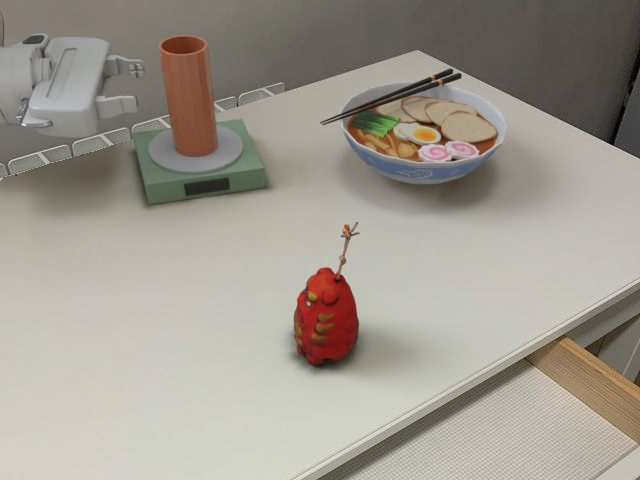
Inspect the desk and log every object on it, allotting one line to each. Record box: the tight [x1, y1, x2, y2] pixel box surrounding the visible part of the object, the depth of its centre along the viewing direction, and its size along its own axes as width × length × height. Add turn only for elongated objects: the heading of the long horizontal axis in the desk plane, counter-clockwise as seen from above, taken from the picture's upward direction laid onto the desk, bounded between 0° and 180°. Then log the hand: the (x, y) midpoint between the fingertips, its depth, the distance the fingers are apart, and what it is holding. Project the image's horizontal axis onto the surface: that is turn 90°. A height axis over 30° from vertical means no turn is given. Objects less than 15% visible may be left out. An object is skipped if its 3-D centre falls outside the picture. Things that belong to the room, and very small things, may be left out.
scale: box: [132, 118, 266, 205], centre depth 93 cm, size 16×14×4 cm
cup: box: [157, 34, 218, 157], centre depth 87 cm, size 6×6×13 cm
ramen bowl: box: [319, 67, 509, 185], centre depth 93 cm, size 25×23×8 cm
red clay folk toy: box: [293, 221, 361, 366], centre depth 67 cm, size 8×7×15 cm
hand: (140, 85), depth 85 cm, fingers open, 8 cm apart
